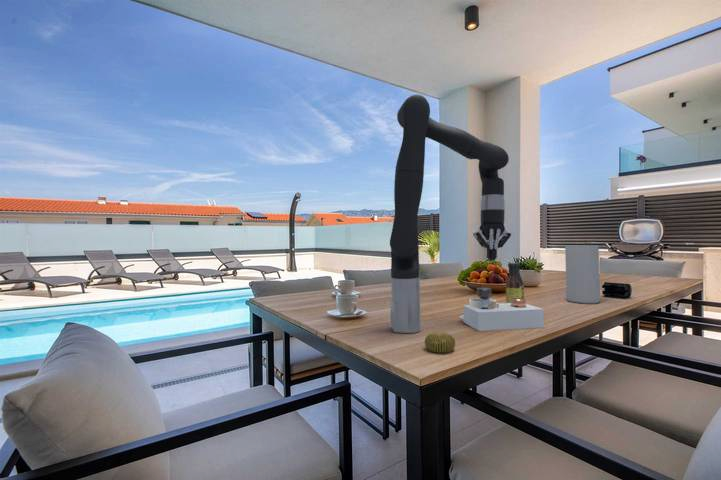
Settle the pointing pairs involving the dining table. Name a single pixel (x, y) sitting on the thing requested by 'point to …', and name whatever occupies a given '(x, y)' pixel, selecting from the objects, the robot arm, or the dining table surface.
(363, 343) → the dining table surface
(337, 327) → the dining table surface
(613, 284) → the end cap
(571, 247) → the cylinder vase
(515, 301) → the knob right
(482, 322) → the mount
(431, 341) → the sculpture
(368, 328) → the dining table surface
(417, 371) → the dining table surface
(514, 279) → the sauce bottle
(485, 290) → the knob left
